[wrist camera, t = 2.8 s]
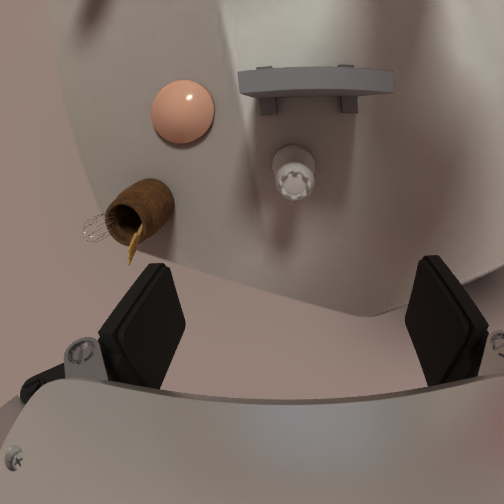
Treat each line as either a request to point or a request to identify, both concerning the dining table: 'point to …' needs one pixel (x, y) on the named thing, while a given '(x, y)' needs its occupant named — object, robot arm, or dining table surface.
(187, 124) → the pink round domed part
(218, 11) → the dining table surface
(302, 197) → the rook chess piece
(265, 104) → the grey upright panel
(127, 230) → the utensil holder
